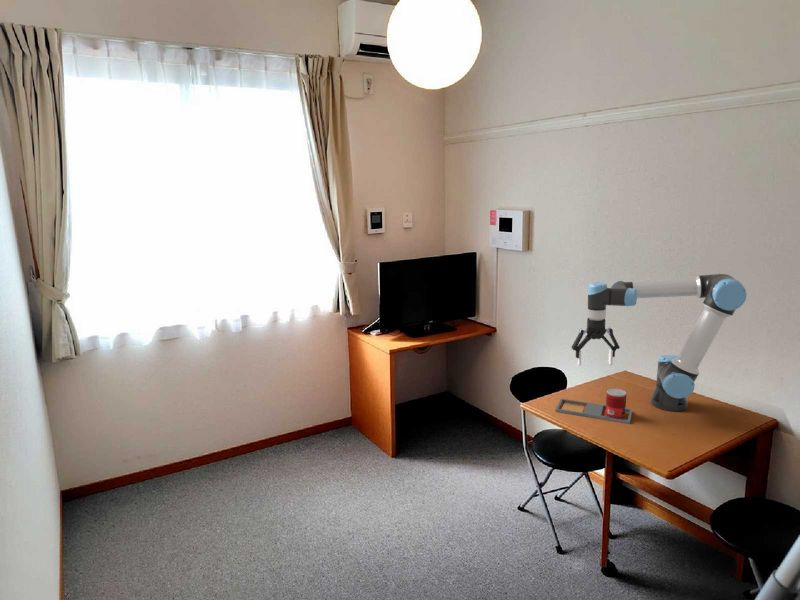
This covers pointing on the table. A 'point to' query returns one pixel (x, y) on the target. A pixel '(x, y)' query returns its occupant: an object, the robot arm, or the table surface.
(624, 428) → the table surface
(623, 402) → the canned food
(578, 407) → the rail frame
